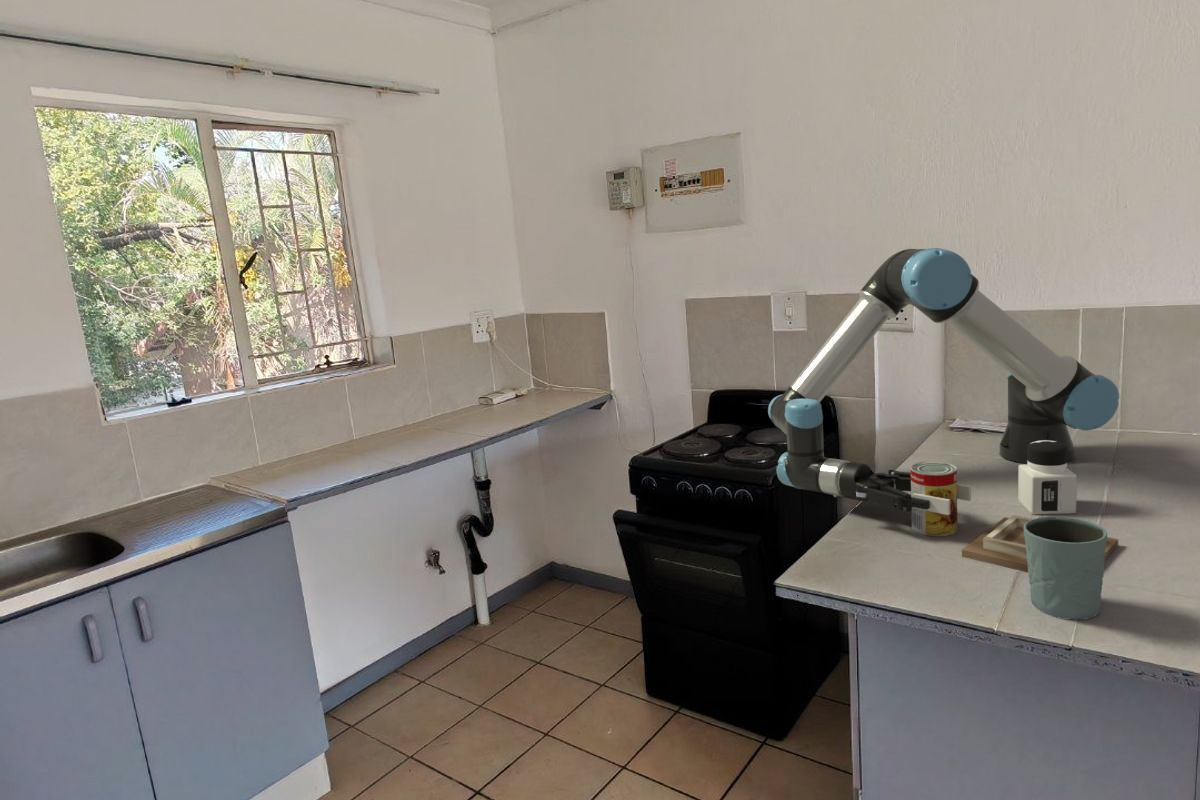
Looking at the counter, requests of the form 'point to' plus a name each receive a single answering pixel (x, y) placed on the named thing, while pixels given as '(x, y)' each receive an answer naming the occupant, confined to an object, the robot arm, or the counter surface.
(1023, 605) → the counter surface
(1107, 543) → the collar board
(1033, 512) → the container
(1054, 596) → the green plant pot
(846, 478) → the robot arm
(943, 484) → the canned food
